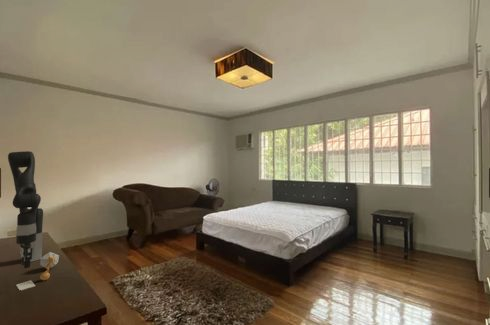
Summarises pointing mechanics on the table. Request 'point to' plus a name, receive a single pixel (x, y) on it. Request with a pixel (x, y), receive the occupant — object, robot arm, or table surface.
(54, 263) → the die
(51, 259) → the figurine
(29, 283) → the grey mat
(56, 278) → the table surface
